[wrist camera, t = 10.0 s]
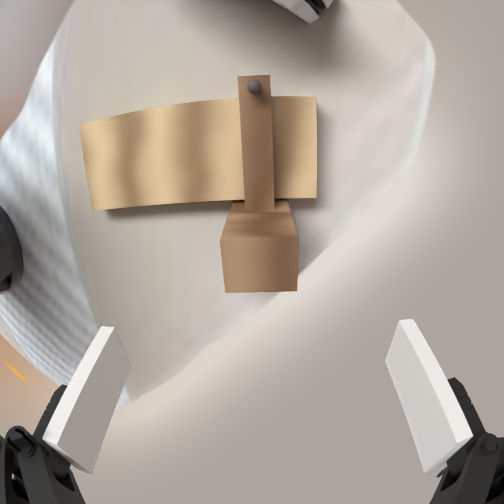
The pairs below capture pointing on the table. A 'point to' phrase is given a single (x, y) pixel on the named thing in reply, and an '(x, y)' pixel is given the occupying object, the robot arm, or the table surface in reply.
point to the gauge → (258, 206)
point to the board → (194, 153)
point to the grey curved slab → (304, 8)
